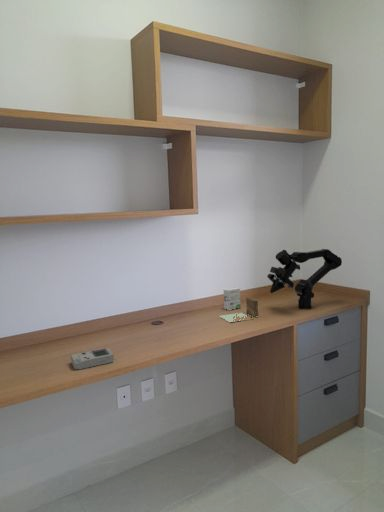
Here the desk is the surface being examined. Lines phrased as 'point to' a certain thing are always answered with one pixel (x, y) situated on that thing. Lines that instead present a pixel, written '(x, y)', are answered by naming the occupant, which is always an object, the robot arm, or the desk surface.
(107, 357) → the handheld gaming device
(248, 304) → the walnut plaque
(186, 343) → the desk surface
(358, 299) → the desk surface
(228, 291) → the ink box
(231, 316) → the green mat
